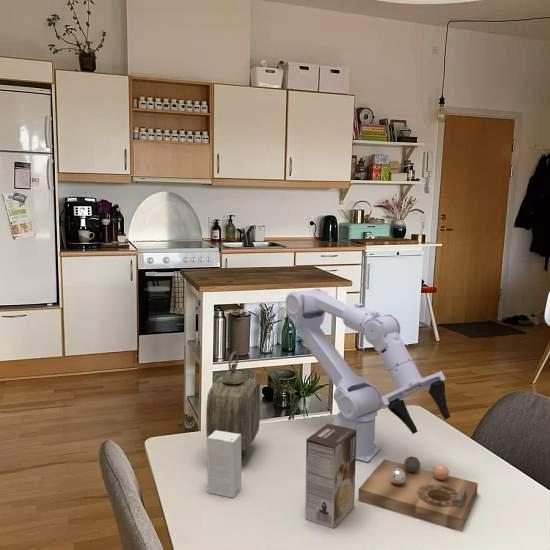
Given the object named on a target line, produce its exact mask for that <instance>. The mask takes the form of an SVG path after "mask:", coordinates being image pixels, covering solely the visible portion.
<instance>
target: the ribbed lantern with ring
mask: <svg viewBox="0 0 550 550" xmlns="http://www.w3.org/2000/svg"><path fill="white" fill-rule="evenodd" d="M234 356H236V359H235V363H232V360H233V357H234ZM238 363H239V353H238V351H237V350H234V351H232V352H231V353H230V356H229V360H228V371H227V372H226V373H224V375H222V376H220V377H218V379H217V380H215V382H214V383H213V384H212V386H211V387H210V388H209V391H208V393H207V398H206V399H207V400H206V415H205V416H206V417H205V423H206V424H205V425H206V427H205V428H206V438H207V437H209V436H210V435H211V434H212V433H213V432H214V431H215V430H217V431H223V432H230V433H237V434H241V458H245V457H246V456H247V451H246V450H245V449H248V448H250V446H251V445H252V444H253V442H254V441H255V439H256V436H257V434H258V432H259V430H260V422H261V420H260V419H261V385H260V383H259V382H257V381H256V380H254V379H253V378H245V376H244V375H243V373H242V372H241V371H238V370H237V367H238Z"/></svg>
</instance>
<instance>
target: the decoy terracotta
mask: <svg viewBox="0 0 550 550" xmlns="http://www.w3.org/2000/svg"><path fill="white" fill-rule="evenodd" d="M432 472H433V474H434V476H435V477H436V478H437V479H439V480H444V479H446V478H447V477H448V476H450V475H449V474H450V471H449V468H448V467H447V465H445V464H444V463H437V464H435V465H434V466H433V468H432Z"/></svg>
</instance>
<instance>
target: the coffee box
mask: <svg viewBox="0 0 550 550" xmlns="http://www.w3.org/2000/svg"><path fill="white" fill-rule="evenodd" d="M356 431H357V430H354V429H350V428H346V427H342V426H337V425H333V424H332V423H327V424H325V425H324V426H322V428H319V430H317V431H316V432H314V433H312V434H311V435H310V436H309V437H307V438H306V440H305V441H306V447H305V449H306V451H305V452H306V453H305V454H306V455H305V502H304V503H305V510H304V511H305V513H304V517H305V519H306V520H308V521H311V522H315V523H317V524H320V525H321V526H326V527H328V528H331V529H335V528H336V527H337V526H338V525H339V524H340V523H341V522H342V521H343V519H344V518H345V517H347V515H348V514H349V513H350V512H351V511H352V509H353V508H355V494H356V493H355V490H356V489H355V488H356V485H355V484H356V460H357V459H356Z"/></svg>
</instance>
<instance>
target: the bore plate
mask: <svg viewBox="0 0 550 550" xmlns="http://www.w3.org/2000/svg"><path fill="white" fill-rule="evenodd" d="M395 468H400V469H402V470H403V471H404V472H405V475H406V479H405V482H404V483H403V484H401V485H396V484H394V483H393V482H392V481H391V479H390V472H391V471H392V470H393V469H395ZM478 485H479V483H478V482H475V481H471V480H468V479H463V478H459V477H455V476H452V475H448V477H447V478H446V479H444V480H439V479H437V478H436V477H435V476H434V474H433V470H428V469H424V468H419V470H418V471H416V472H409V471H408V470H407V469H406V468H405V463H401V462H396V461H392V460H389V459H387V458H386V459H385V458H383V460H382V461H381V462H380V463H379V464H378V465H377V466H376V468H375V469H374V470H373V472H372V473H371V474H369V476H368V477H367V478H366V480H364V482H363V483H362V484H361V485H360V487H359V488H358V498H357V499H358V501H359V502H362V503H366V504H368V505H373V506H376V507H379V508H381V509H386V510H389V511H392V512H396V513H398V514H402V515H405V516H408V517H411V518H415V519H419V520H422V521H424V522H425V521H426V522H429V523H432V524H435V525H438V526H440V527H445V528H449V529H452V530H455V531H458V532H462V530H463V527H464V525H465V523H466V520H467V518H468V516H469V515H470V511H471V509H472V507H473V505H474V502H475V500H476V498H477V495H478Z"/></svg>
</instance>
